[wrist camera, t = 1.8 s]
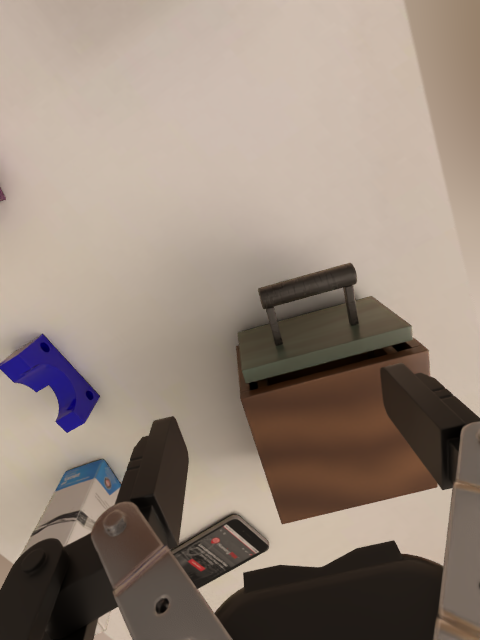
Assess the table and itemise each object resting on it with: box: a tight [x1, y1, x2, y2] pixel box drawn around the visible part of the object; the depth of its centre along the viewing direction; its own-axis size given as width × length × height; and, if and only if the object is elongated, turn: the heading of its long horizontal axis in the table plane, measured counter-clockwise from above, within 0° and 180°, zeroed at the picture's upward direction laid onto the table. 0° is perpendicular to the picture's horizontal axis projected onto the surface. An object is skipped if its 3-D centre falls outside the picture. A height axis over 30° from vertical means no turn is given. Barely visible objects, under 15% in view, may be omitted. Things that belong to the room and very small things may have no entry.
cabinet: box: [236, 338, 437, 524], centre depth 30 cm, size 14×14×9 cm
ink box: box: [21, 459, 121, 635], centre depth 32 cm, size 8×5×12 cm, turn 19°
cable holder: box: [0, 334, 100, 433], centre depth 30 cm, size 8×4×4 cm, turn 31°
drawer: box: [238, 263, 413, 388], centre depth 28 cm, size 17×12×7 cm
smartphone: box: [171, 515, 269, 589], centre depth 42 cm, size 7×1×15 cm
